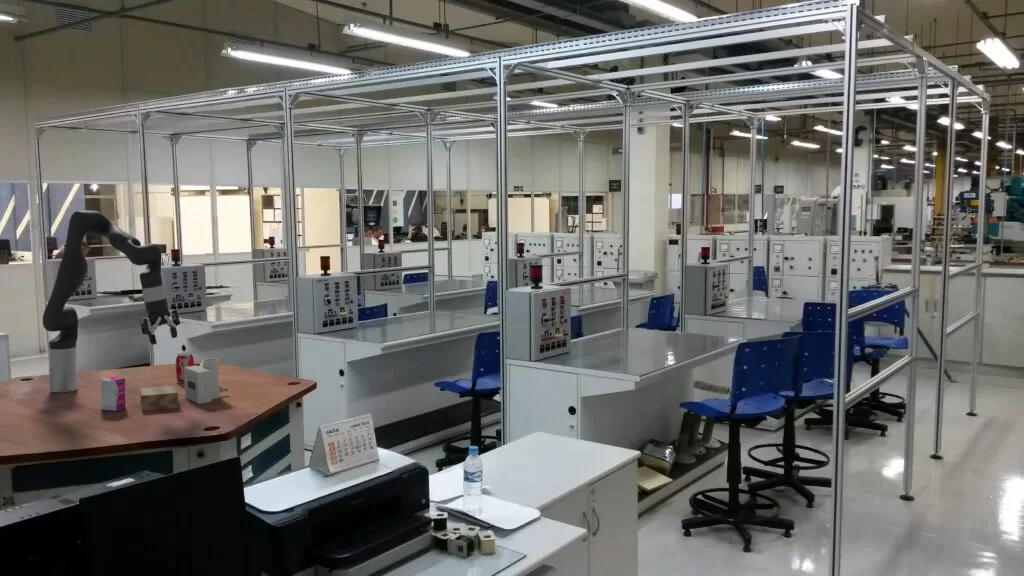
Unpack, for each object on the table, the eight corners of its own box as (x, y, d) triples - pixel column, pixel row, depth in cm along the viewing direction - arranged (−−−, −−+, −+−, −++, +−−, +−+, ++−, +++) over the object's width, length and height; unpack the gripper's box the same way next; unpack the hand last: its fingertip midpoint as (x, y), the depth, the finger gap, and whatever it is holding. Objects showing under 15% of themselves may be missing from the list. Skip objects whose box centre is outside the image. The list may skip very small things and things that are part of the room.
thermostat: (184, 398, 290) (184, 359, 288) (220, 392, 300) (219, 355, 299) (199, 404, 282) (198, 365, 280) (234, 397, 292) (234, 360, 291)
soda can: (197, 381, 317) (197, 353, 315) (182, 384, 311) (182, 356, 309) (187, 379, 320) (187, 351, 319) (172, 382, 314) (171, 354, 313)
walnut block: (141, 411, 271) (141, 395, 270) (140, 404, 281) (140, 388, 280) (178, 408, 276) (177, 392, 276) (175, 400, 287) (175, 385, 286)
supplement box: (115, 412, 268) (113, 380, 267) (100, 411, 270) (99, 379, 268) (126, 408, 274) (125, 377, 273) (112, 406, 275) (111, 376, 274)
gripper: (165, 294, 283) (174, 335, 286) (131, 303, 271) (140, 346, 274) (178, 294, 280) (187, 335, 282) (143, 303, 268) (153, 346, 270)
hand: (164, 340), depth 278 cm, fingers open, 8 cm apart
